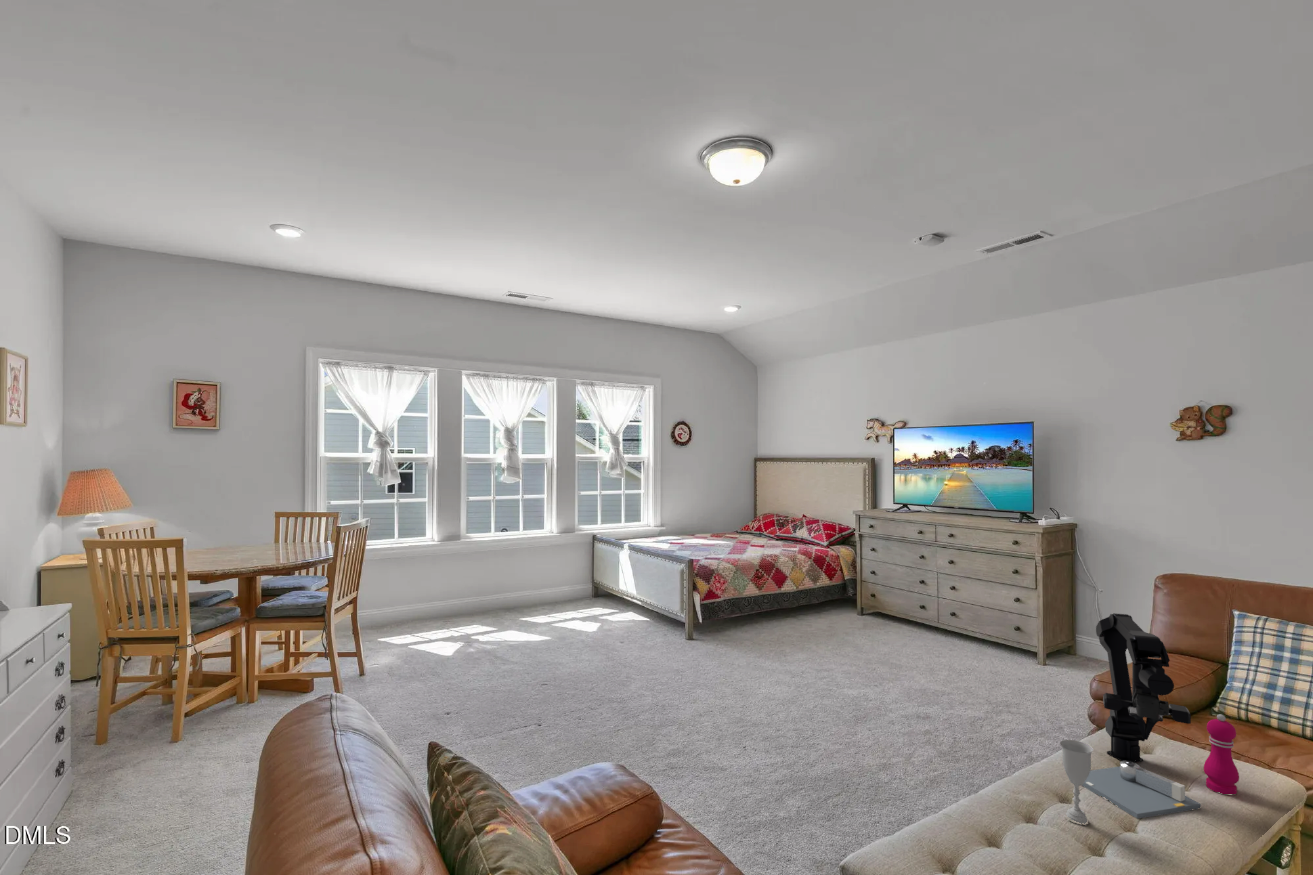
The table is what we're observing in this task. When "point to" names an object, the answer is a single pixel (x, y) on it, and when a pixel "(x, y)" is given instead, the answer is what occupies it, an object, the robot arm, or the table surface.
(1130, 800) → the mount board
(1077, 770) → the chalice
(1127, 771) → the lock lever
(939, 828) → the table surface
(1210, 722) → the pepper mill
